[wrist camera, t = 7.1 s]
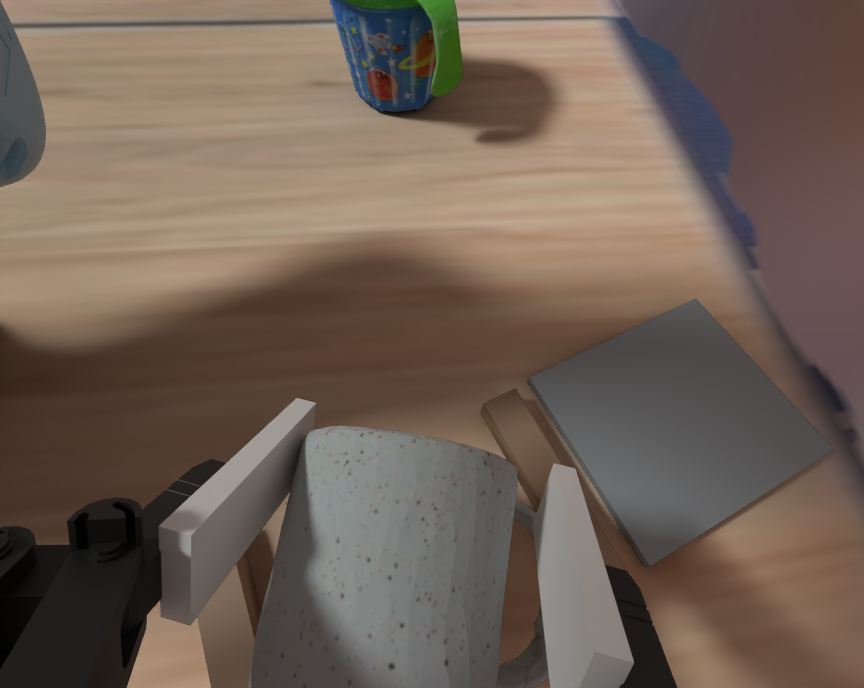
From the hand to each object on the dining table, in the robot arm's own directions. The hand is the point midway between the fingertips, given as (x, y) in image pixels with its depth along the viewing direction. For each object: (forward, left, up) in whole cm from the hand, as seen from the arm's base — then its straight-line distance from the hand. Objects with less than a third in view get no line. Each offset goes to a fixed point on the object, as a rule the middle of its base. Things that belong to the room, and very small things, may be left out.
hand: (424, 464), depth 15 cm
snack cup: (-33, +13, -8) cm, 36 cm away
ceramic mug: (+3, -1, -4) cm, 5 cm away
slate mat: (+2, +15, -8) cm, 17 cm away
